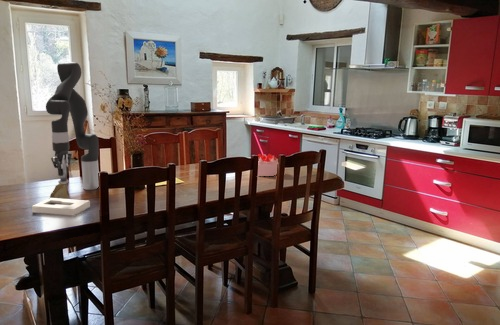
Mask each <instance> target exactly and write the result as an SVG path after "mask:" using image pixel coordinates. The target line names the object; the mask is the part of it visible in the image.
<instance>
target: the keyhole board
mask: <svg viewBox="0 0 500 325" xmlns="http://www.w3.org/2000/svg"><path fill="white" fill-rule="evenodd" d="M31 206H32V207H31V210H32V211H31V212H32V214H39V215H40V214H41V215H51V216H52V215H54V216H66V217H76V216H77V215H79V214H81V213H82V212H84V211H86V210H88V209H89V208H91V202H90V200H87V199H86V200H83V199H72V198H69V199H61V198H50V197H49V198H47V199H44V200H42V201H40V202H38V203H36V204H34V205H31Z"/></svg>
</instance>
